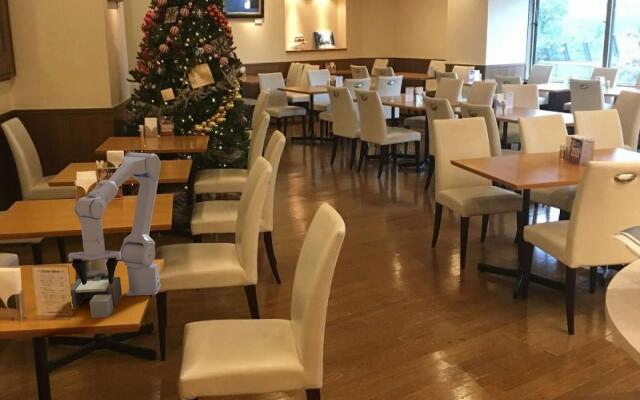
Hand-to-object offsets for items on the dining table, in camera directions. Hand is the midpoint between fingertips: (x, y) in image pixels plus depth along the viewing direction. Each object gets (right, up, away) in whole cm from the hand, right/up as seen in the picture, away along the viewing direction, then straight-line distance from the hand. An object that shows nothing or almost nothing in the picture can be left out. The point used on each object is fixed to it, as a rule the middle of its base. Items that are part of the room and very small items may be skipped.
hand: (98, 283), depth 191 cm
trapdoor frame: (-4, -7, +11) cm, 14 cm away
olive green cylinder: (-13, -4, +25) cm, 28 cm away
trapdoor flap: (-4, -3, +11) cm, 13 cm away
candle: (-10, -2, +32) cm, 34 cm away
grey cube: (0, -9, +2) cm, 10 cm away
